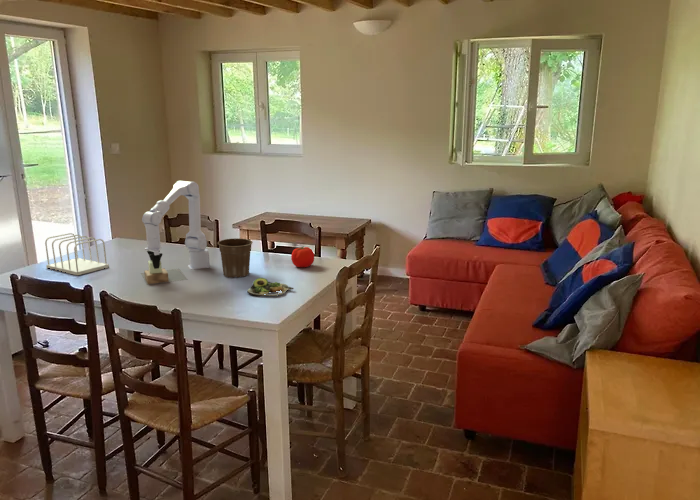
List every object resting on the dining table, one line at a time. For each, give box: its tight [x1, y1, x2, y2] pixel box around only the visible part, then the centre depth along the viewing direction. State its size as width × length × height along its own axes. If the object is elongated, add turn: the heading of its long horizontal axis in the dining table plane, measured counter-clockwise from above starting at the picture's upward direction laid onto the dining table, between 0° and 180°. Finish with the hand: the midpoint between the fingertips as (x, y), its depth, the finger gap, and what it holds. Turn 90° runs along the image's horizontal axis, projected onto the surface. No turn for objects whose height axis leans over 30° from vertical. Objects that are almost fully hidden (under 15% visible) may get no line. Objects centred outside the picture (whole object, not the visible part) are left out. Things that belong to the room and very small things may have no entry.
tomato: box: [290, 245, 315, 268], centre depth 280 cm, size 12×12×10 cm
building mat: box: [140, 268, 188, 285], centre depth 262 cm, size 18×20×1 cm
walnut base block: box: [143, 267, 170, 285], centre depth 255 cm, size 9×9×4 cm
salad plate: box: [246, 277, 295, 297], centre depth 243 cm, size 19×18×5 cm
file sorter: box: [44, 232, 110, 276], centre depth 274 cm, size 25×17×16 cm
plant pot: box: [217, 237, 253, 279], centre depth 265 cm, size 16×16×16 cm
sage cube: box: [147, 260, 163, 274], centre depth 254 cm, size 5×5×5 cm
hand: (155, 266), depth 254 cm, fingers closed on sage cube, 5 cm apart
